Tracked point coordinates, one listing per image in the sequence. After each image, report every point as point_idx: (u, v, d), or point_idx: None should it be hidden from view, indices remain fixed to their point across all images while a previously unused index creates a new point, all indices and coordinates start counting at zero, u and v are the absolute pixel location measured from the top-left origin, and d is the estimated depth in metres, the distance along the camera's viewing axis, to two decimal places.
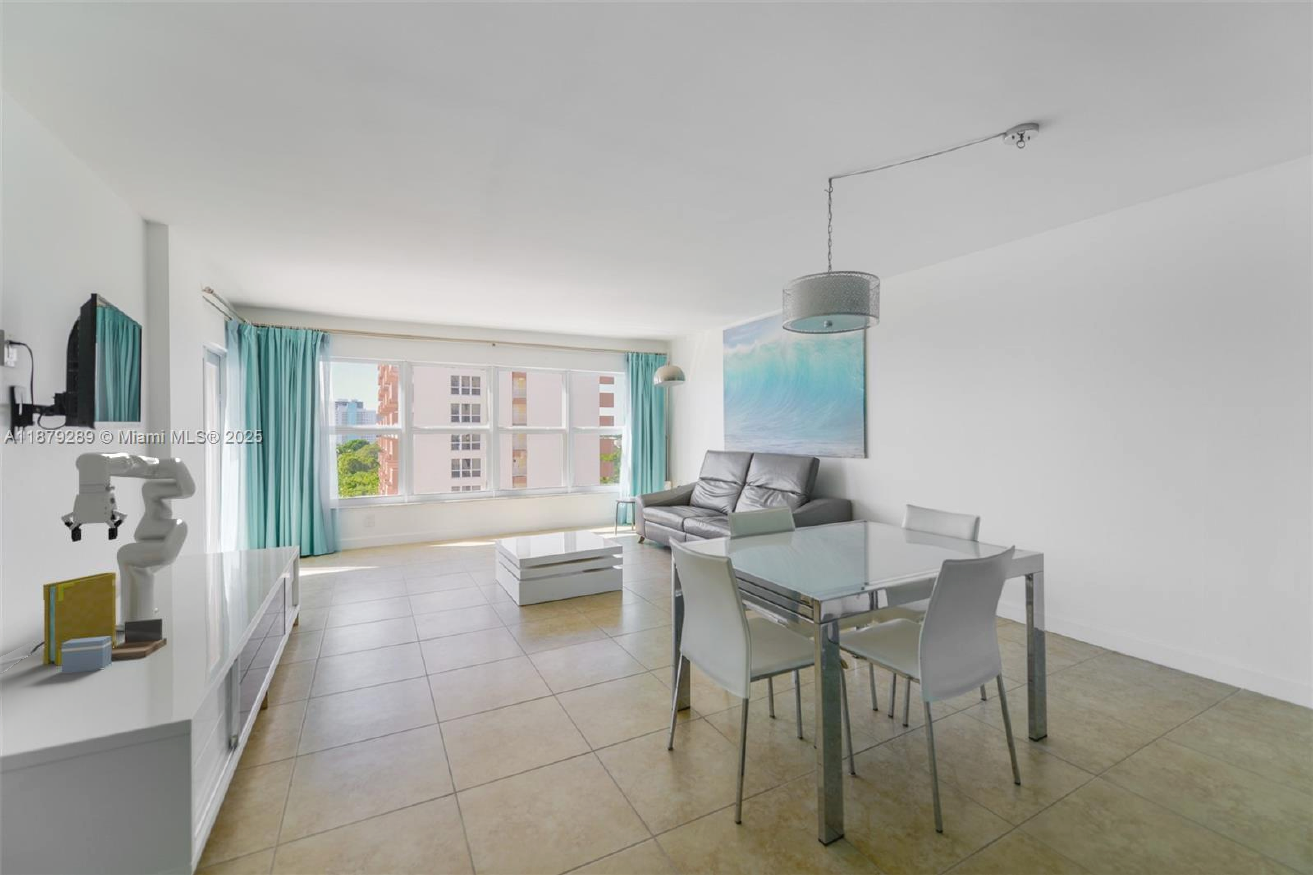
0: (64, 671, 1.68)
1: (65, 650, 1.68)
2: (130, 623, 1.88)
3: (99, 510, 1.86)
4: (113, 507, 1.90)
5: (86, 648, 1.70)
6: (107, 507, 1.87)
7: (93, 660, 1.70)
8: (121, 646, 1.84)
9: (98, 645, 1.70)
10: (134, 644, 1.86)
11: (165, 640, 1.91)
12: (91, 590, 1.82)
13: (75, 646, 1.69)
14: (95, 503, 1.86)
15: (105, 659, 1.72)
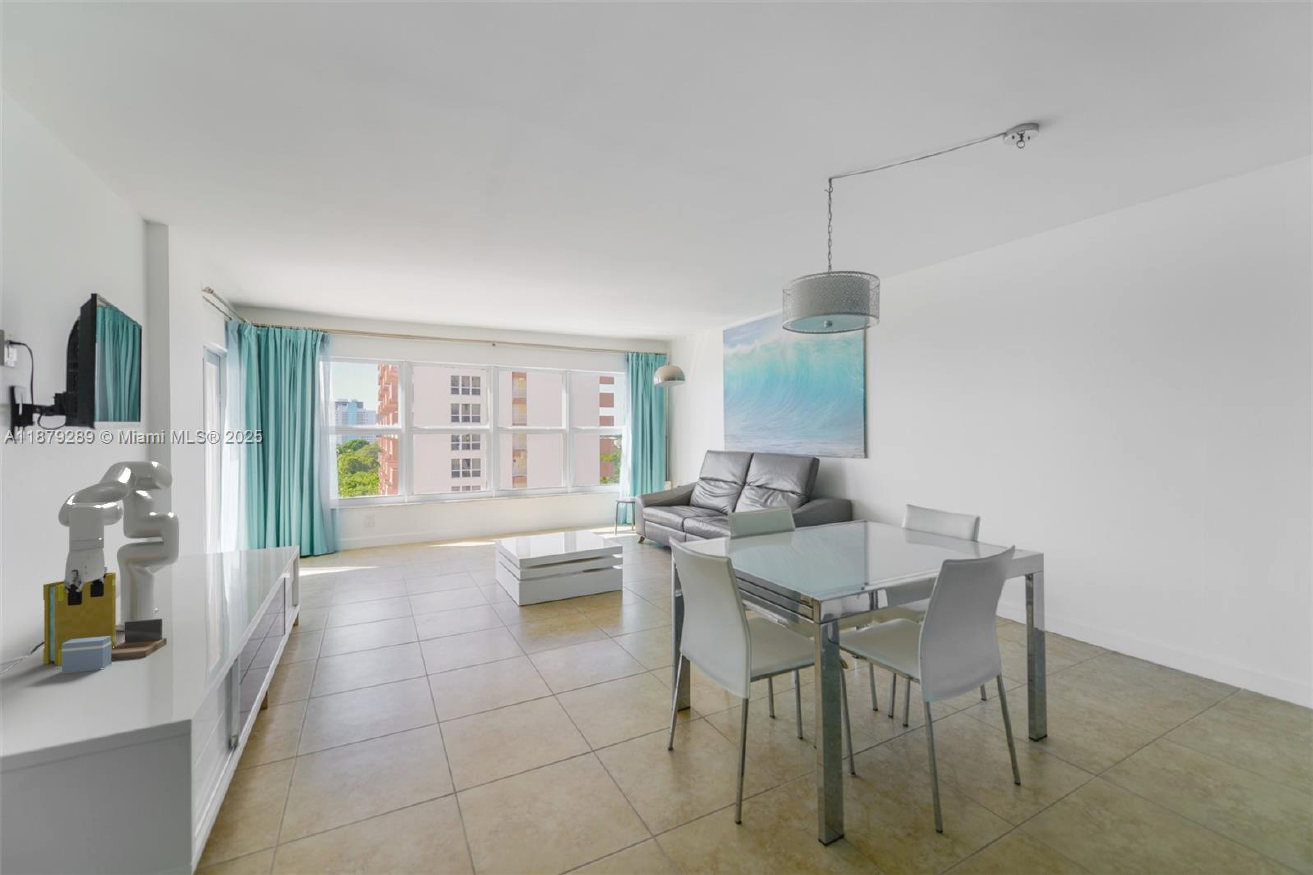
0: (64, 671, 1.68)
1: (65, 650, 1.68)
2: (130, 623, 1.88)
3: (101, 565, 1.74)
4: None
5: (86, 648, 1.70)
6: None
7: (93, 660, 1.70)
8: (121, 646, 1.84)
9: (98, 645, 1.70)
10: (134, 644, 1.86)
11: (165, 640, 1.91)
12: None
13: (75, 646, 1.69)
14: (99, 558, 1.73)
15: (105, 659, 1.72)
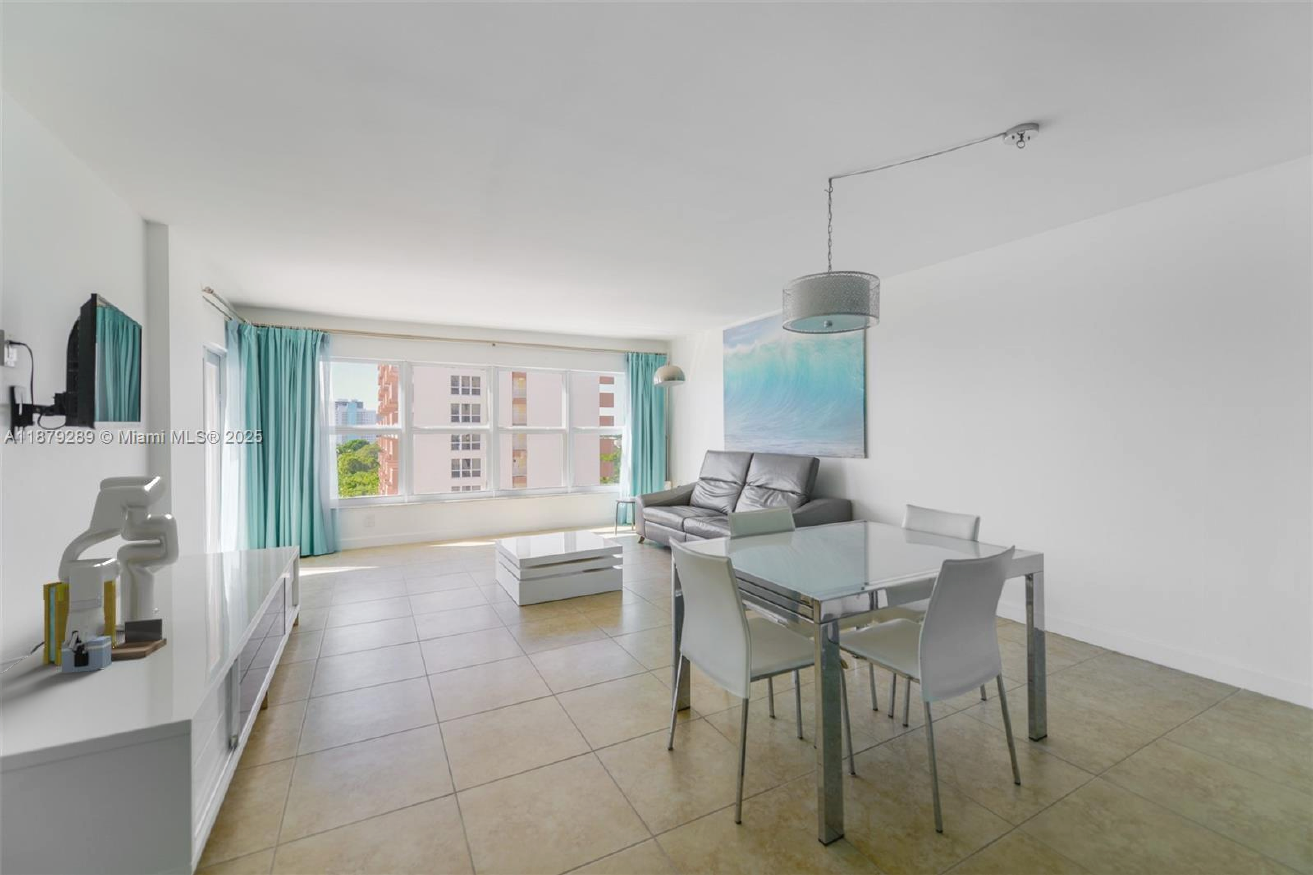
0: (64, 671, 1.68)
1: (65, 650, 1.68)
2: (130, 623, 1.88)
3: (101, 622, 1.74)
4: None
5: None
6: (104, 618, 1.76)
7: (93, 660, 1.70)
8: (121, 646, 1.84)
9: (98, 645, 1.70)
10: (134, 644, 1.86)
11: (165, 640, 1.91)
12: None
13: None
14: (99, 616, 1.73)
15: (105, 659, 1.72)
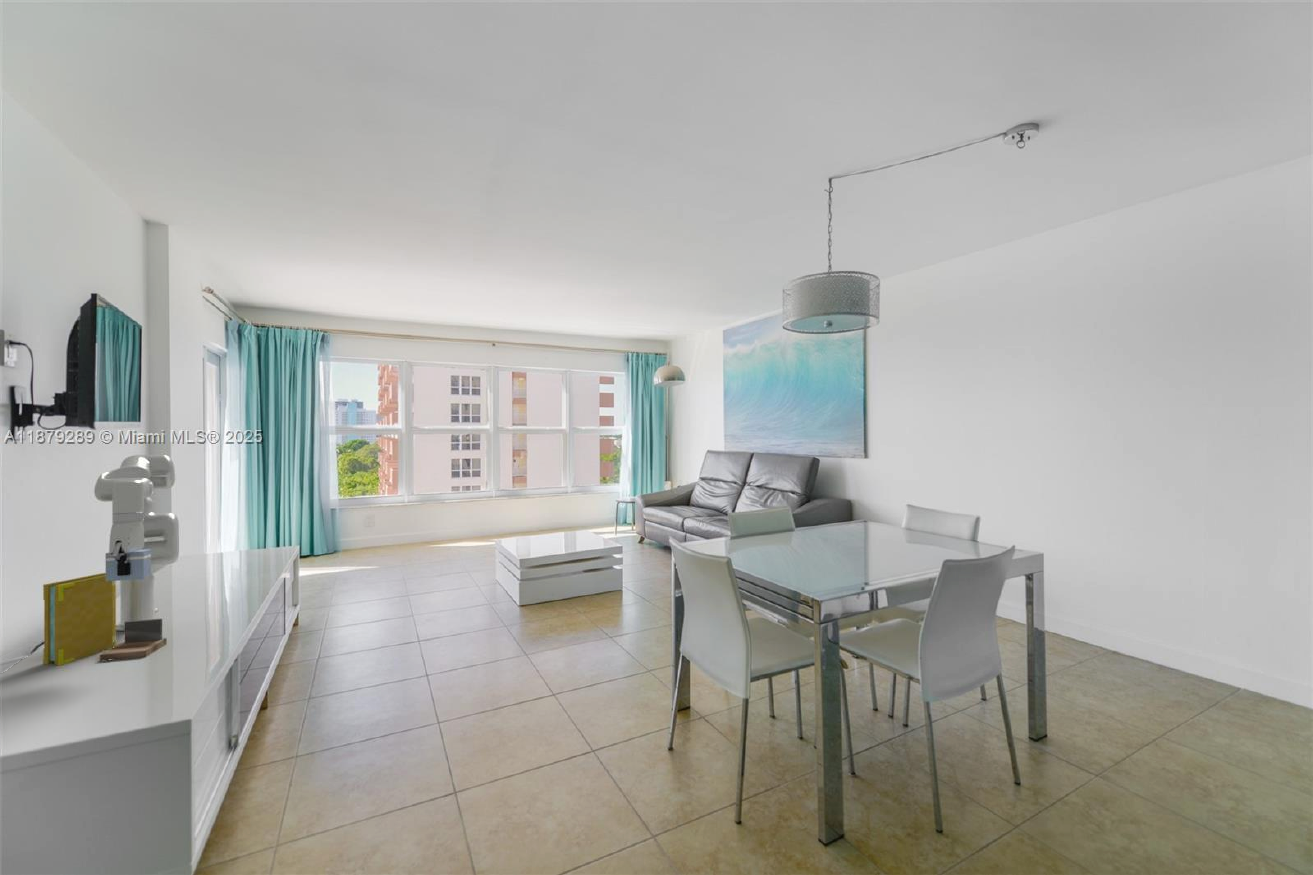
0: (108, 579, 1.78)
1: (109, 559, 1.78)
2: (130, 623, 1.88)
3: (141, 537, 1.85)
4: None
5: None
6: (143, 533, 1.86)
7: (135, 570, 1.80)
8: (121, 646, 1.84)
9: (139, 556, 1.81)
10: (134, 644, 1.86)
11: (165, 640, 1.91)
12: (91, 590, 1.82)
13: None
14: (140, 530, 1.84)
15: (146, 570, 1.82)
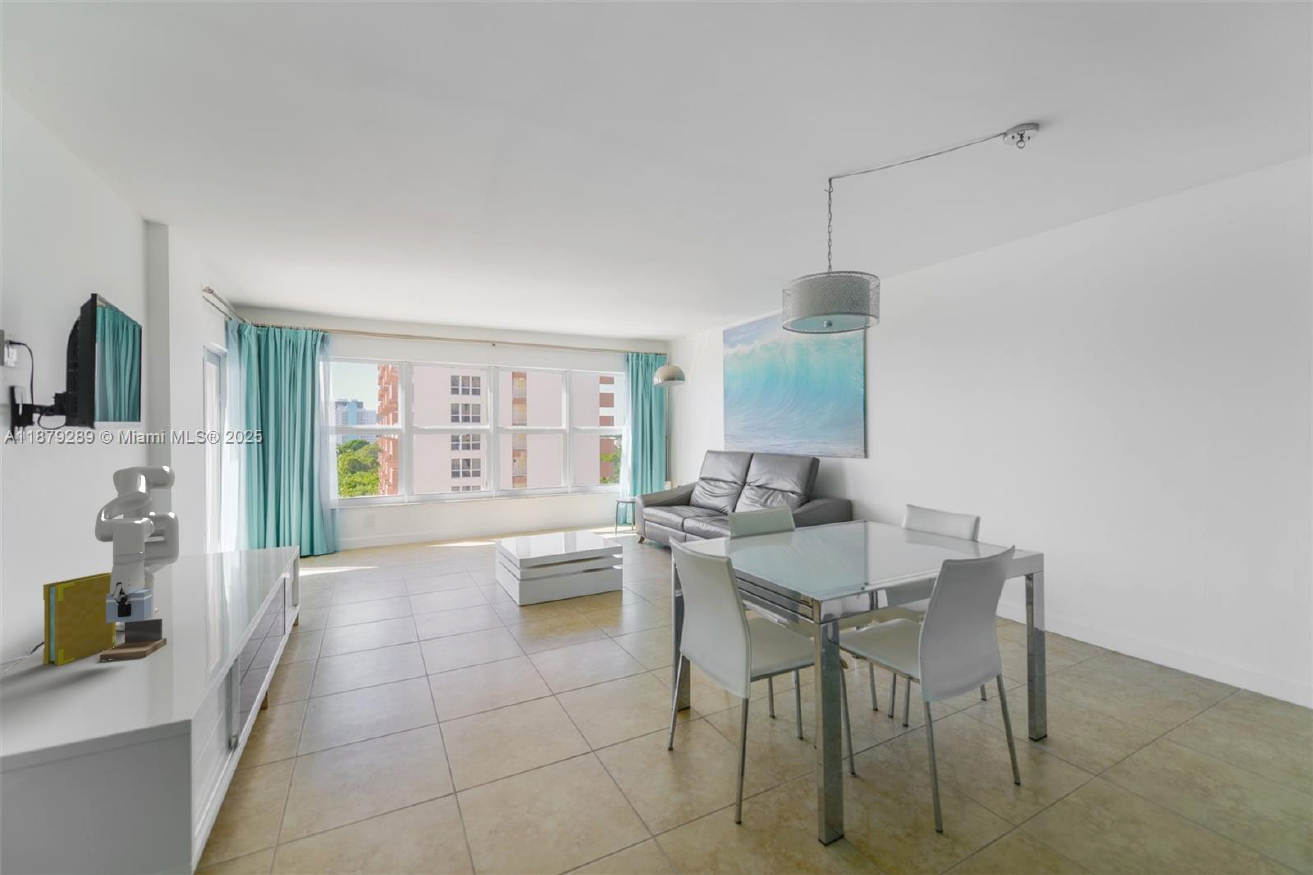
0: (108, 621, 1.78)
1: (109, 601, 1.78)
2: (130, 623, 1.88)
3: (142, 577, 1.85)
4: None
5: None
6: (144, 573, 1.86)
7: (135, 611, 1.80)
8: (121, 646, 1.84)
9: (140, 597, 1.81)
10: (134, 644, 1.86)
11: (165, 640, 1.91)
12: (91, 590, 1.82)
13: None
14: (140, 570, 1.84)
15: (146, 611, 1.82)
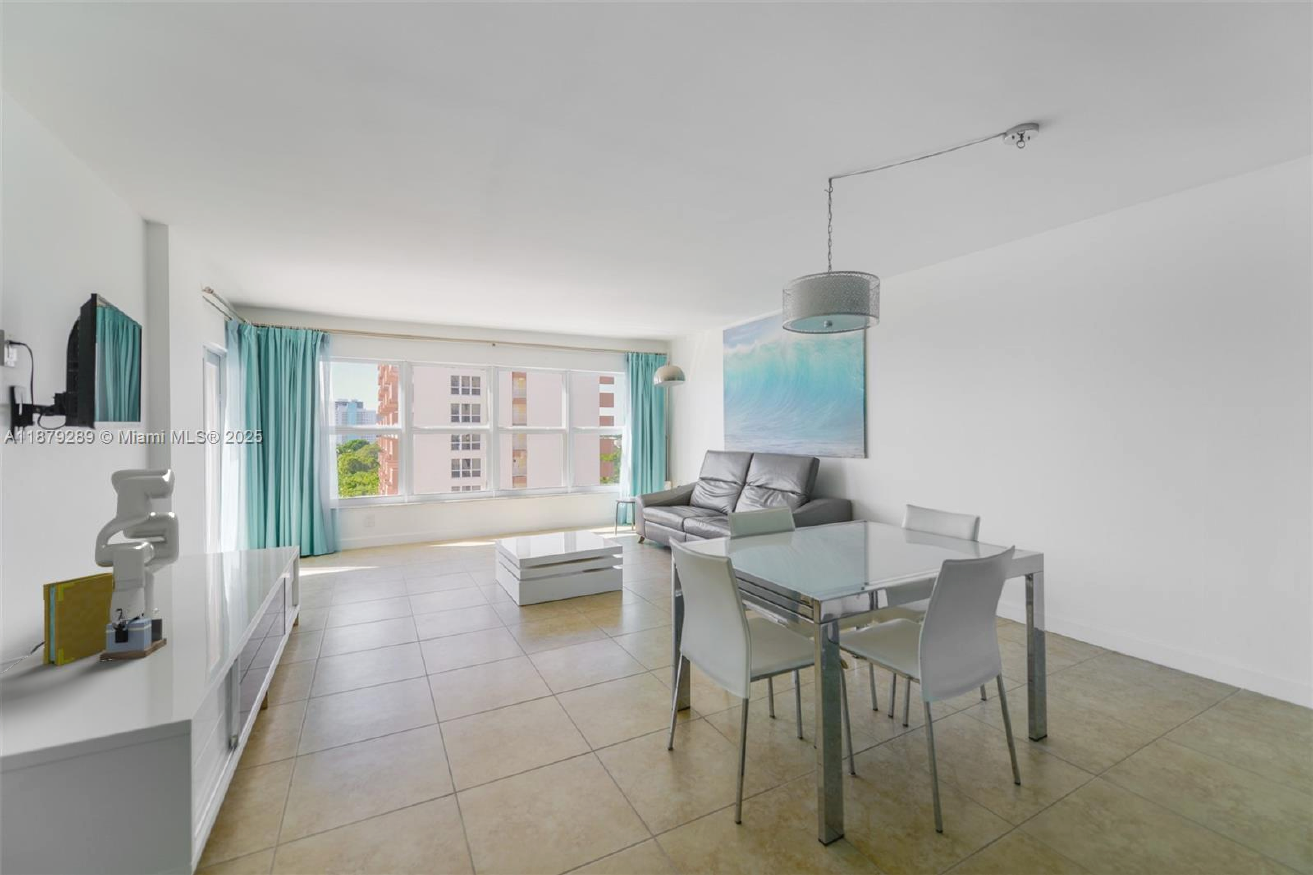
0: (108, 651, 1.78)
1: (109, 631, 1.79)
2: None
3: (142, 602, 1.85)
4: None
5: (128, 629, 1.80)
6: (144, 598, 1.86)
7: (135, 641, 1.80)
8: None
9: (140, 627, 1.81)
10: None
11: (165, 640, 1.91)
12: (91, 590, 1.82)
13: None
14: (140, 595, 1.84)
15: (146, 640, 1.82)
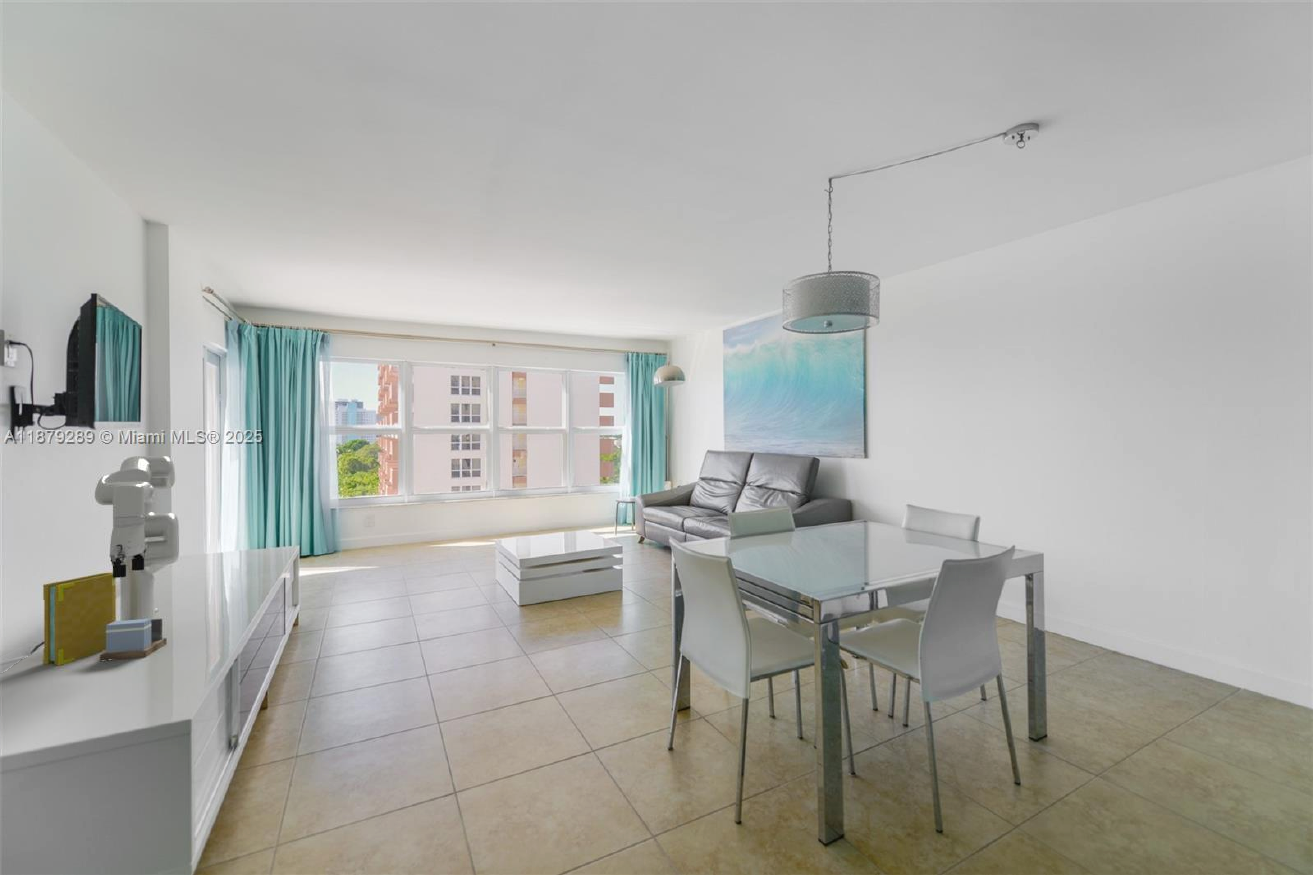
0: (108, 651, 1.78)
1: (109, 631, 1.79)
2: None
3: (142, 540, 1.85)
4: None
5: (128, 629, 1.80)
6: (144, 537, 1.87)
7: (135, 641, 1.80)
8: None
9: (140, 627, 1.81)
10: None
11: (165, 640, 1.91)
12: (91, 590, 1.82)
13: (118, 627, 1.79)
14: (140, 534, 1.84)
15: (146, 640, 1.82)
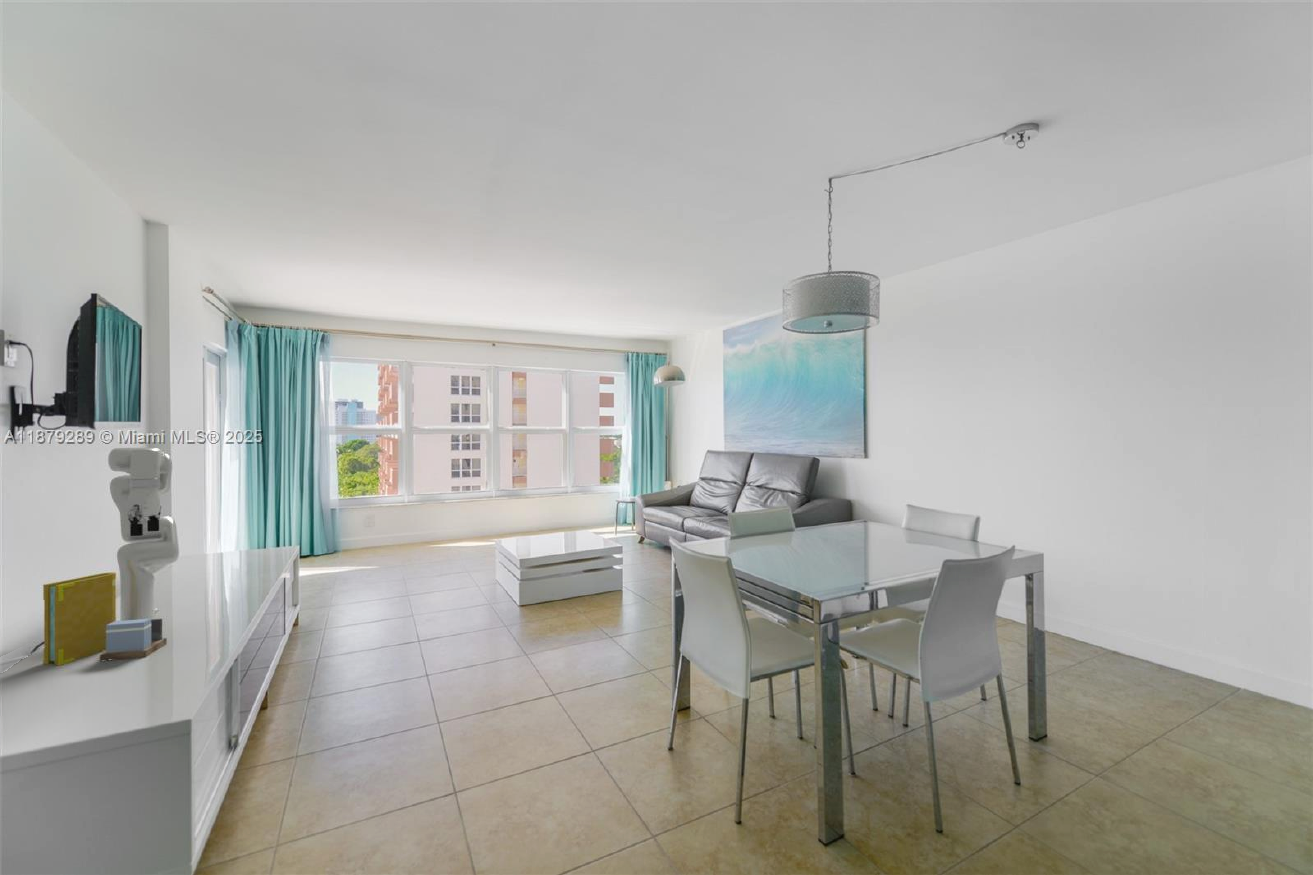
0: (108, 651, 1.78)
1: (109, 631, 1.79)
2: None
3: (157, 502, 1.95)
4: None
5: (128, 629, 1.80)
6: (159, 499, 1.97)
7: (135, 641, 1.80)
8: None
9: (140, 627, 1.81)
10: None
11: (165, 640, 1.91)
12: (91, 590, 1.82)
13: (118, 627, 1.79)
14: (156, 496, 1.94)
15: (146, 640, 1.82)
